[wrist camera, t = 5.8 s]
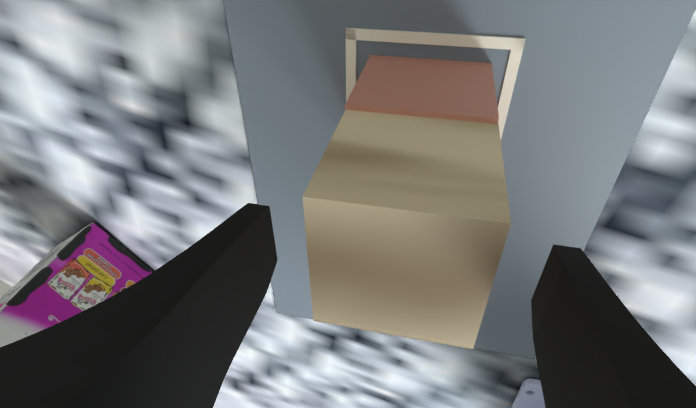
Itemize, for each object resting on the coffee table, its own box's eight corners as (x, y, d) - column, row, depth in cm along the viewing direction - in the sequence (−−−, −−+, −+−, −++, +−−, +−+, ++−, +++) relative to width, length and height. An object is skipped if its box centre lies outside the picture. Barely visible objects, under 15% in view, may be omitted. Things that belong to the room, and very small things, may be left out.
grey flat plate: (533, 355, 26) (533, 360, 25) (277, 310, 28) (276, 314, 28) (703, -15, 13) (707, -13, 13) (220, -33, 16) (216, -31, 16)
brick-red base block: (470, 166, 18) (471, 235, 15) (367, 155, 19) (346, 218, 16) (491, 62, 16) (499, 118, 12) (370, 54, 16) (345, 105, 13)
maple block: (471, 238, 15) (473, 349, 12) (346, 221, 16) (313, 320, 12) (498, 123, 12) (511, 223, 9) (345, 109, 13) (302, 196, 10)
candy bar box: (57, 242, 29) (-257, 532, 16) (94, 217, 26) (-244, 536, 14) (179, 339, 33) (6, 625, 21) (220, 325, 31) (51, 641, 18)
